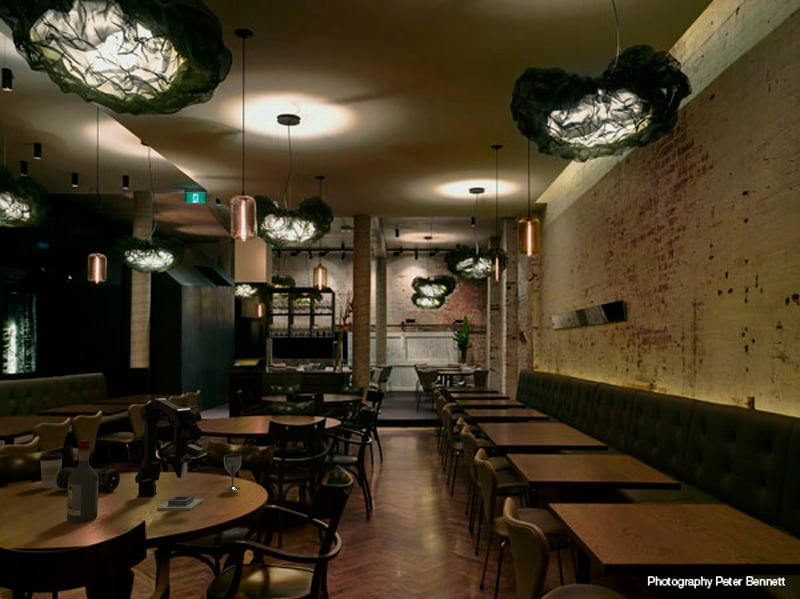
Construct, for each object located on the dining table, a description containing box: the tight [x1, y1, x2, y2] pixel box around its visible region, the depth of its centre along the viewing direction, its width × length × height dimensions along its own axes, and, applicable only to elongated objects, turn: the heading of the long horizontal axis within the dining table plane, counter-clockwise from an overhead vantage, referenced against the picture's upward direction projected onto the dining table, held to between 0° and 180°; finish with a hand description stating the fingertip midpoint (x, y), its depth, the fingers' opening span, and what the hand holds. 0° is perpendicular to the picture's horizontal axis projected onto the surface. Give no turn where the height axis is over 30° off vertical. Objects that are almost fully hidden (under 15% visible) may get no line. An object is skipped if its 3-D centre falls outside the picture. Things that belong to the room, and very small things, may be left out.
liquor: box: [66, 439, 99, 524], centre depth 237 cm, size 9×9×30 cm
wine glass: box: [223, 453, 243, 492], centre depth 286 cm, size 8×8×15 cm
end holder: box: [156, 495, 205, 511], centre depth 256 cm, size 14×14×3 cm
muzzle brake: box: [54, 467, 121, 493], centre depth 283 cm, size 10×28×10 cm, turn 78°
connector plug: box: [174, 460, 188, 483], centre depth 257 cm, size 4×4×8 cm
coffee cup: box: [39, 452, 64, 489], centre depth 292 cm, size 10×10×15 cm
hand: (181, 476), depth 257 cm, fingers closed on connector plug, 3 cm apart
